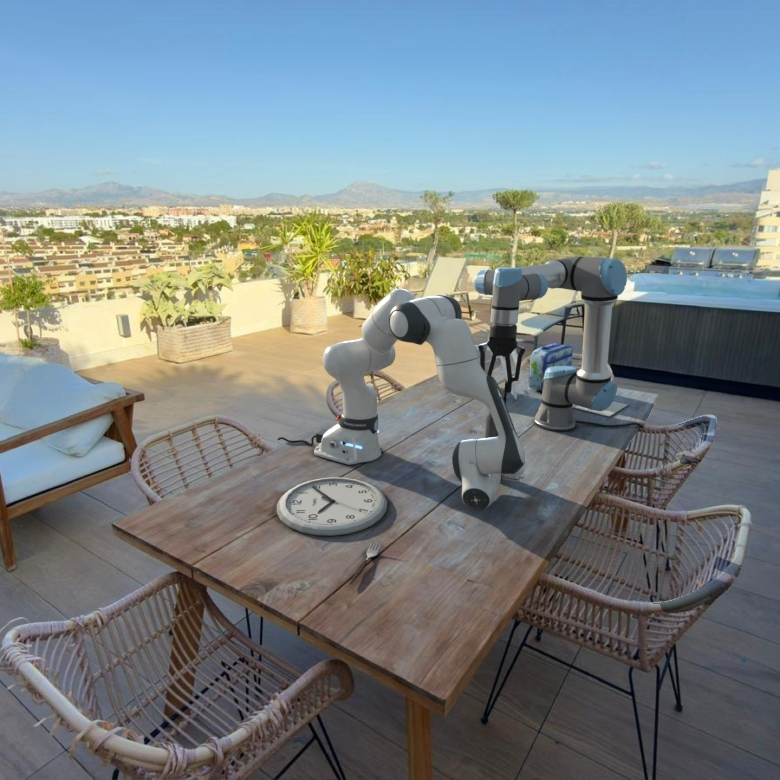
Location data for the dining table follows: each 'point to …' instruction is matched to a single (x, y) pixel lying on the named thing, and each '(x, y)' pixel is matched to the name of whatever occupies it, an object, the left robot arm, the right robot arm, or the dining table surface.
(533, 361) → the lunch box
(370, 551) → the fork
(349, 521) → the wall clock
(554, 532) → the dining table surface
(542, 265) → the right robot arm
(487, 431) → the bottle
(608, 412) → the invitation card
